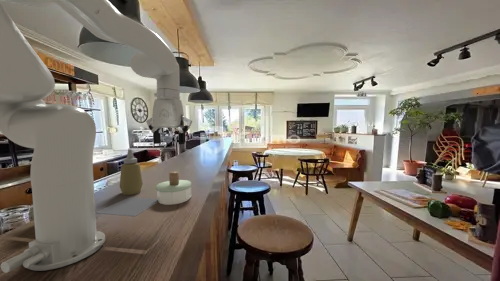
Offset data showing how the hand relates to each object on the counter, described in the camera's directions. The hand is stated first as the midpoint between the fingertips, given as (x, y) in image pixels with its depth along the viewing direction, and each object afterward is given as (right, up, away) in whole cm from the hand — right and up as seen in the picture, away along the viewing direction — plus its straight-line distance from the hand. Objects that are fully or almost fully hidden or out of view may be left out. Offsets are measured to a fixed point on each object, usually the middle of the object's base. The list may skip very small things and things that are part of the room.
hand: (169, 143), depth 70 cm
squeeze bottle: (-19, -21, +9) cm, 29 cm away
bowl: (+1, -21, +2) cm, 21 cm away
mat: (-11, -21, -5) cm, 24 cm away
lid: (+1, -16, +1) cm, 16 cm away
